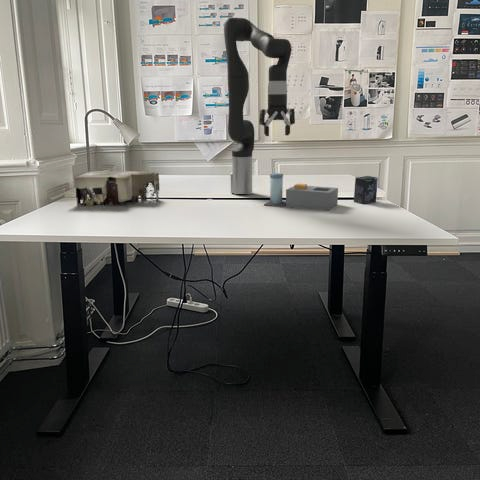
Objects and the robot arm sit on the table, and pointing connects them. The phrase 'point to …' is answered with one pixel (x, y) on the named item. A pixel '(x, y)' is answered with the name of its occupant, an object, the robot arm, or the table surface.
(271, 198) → the cartridge
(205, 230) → the table surface
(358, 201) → the box
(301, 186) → the orange rectangular block
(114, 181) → the beige boxy piece
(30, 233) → the table surface
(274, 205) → the mat
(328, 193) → the housing
